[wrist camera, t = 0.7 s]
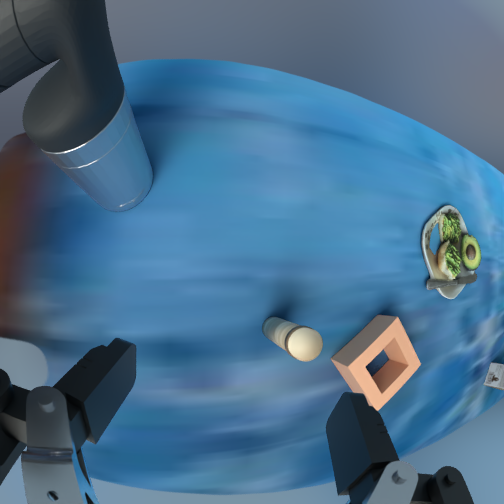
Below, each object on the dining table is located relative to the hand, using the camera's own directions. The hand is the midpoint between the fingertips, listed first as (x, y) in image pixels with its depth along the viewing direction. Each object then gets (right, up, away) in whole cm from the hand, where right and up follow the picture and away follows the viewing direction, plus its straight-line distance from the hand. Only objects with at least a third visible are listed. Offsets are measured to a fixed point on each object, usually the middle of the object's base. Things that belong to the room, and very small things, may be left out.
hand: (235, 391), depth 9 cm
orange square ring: (+19, -11, +27) cm, 35 cm away
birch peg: (+3, -5, +25) cm, 26 cm away
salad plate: (+39, +5, +34) cm, 52 cm away
